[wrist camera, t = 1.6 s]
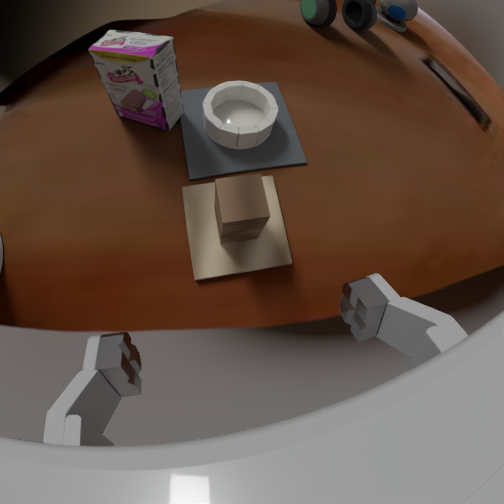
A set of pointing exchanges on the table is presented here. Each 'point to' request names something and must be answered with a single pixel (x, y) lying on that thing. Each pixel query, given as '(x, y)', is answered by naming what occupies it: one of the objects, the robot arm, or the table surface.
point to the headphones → (354, 12)
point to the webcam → (396, 13)
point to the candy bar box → (140, 76)
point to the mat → (228, 160)
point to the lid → (235, 226)
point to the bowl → (239, 114)
